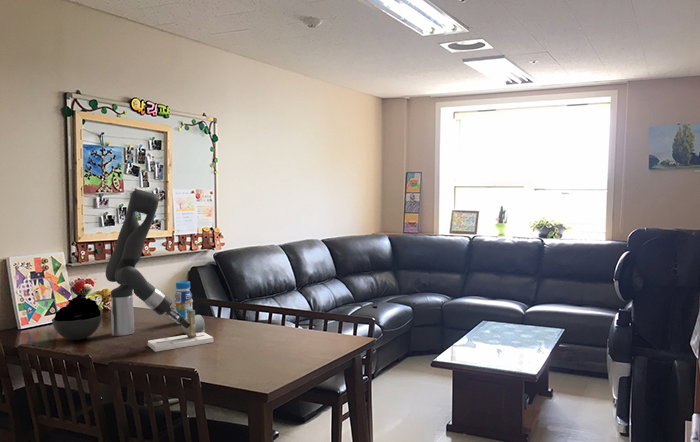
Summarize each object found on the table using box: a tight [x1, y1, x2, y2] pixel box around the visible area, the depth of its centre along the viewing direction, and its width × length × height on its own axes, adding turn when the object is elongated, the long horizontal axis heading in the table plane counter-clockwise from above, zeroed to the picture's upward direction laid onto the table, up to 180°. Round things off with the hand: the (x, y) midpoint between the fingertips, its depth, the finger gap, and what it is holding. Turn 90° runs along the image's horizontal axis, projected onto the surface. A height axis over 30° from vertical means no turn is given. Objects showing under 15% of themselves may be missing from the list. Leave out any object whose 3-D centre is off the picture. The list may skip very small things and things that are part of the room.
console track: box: [147, 331, 214, 352], centre depth 244 cm, size 24×12×2 cm, turn 123°
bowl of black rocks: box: [51, 294, 103, 341], centre depth 256 cm, size 20×20×19 cm
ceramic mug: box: [181, 314, 206, 335], centre depth 262 cm, size 11×8×8 cm
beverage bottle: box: [174, 280, 194, 325], centre depth 285 cm, size 8×8×20 cm
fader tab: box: [186, 308, 196, 338], centre depth 246 cm, size 3×6×12 cm, turn 33°
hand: (188, 326), depth 245 cm, fingers closed
